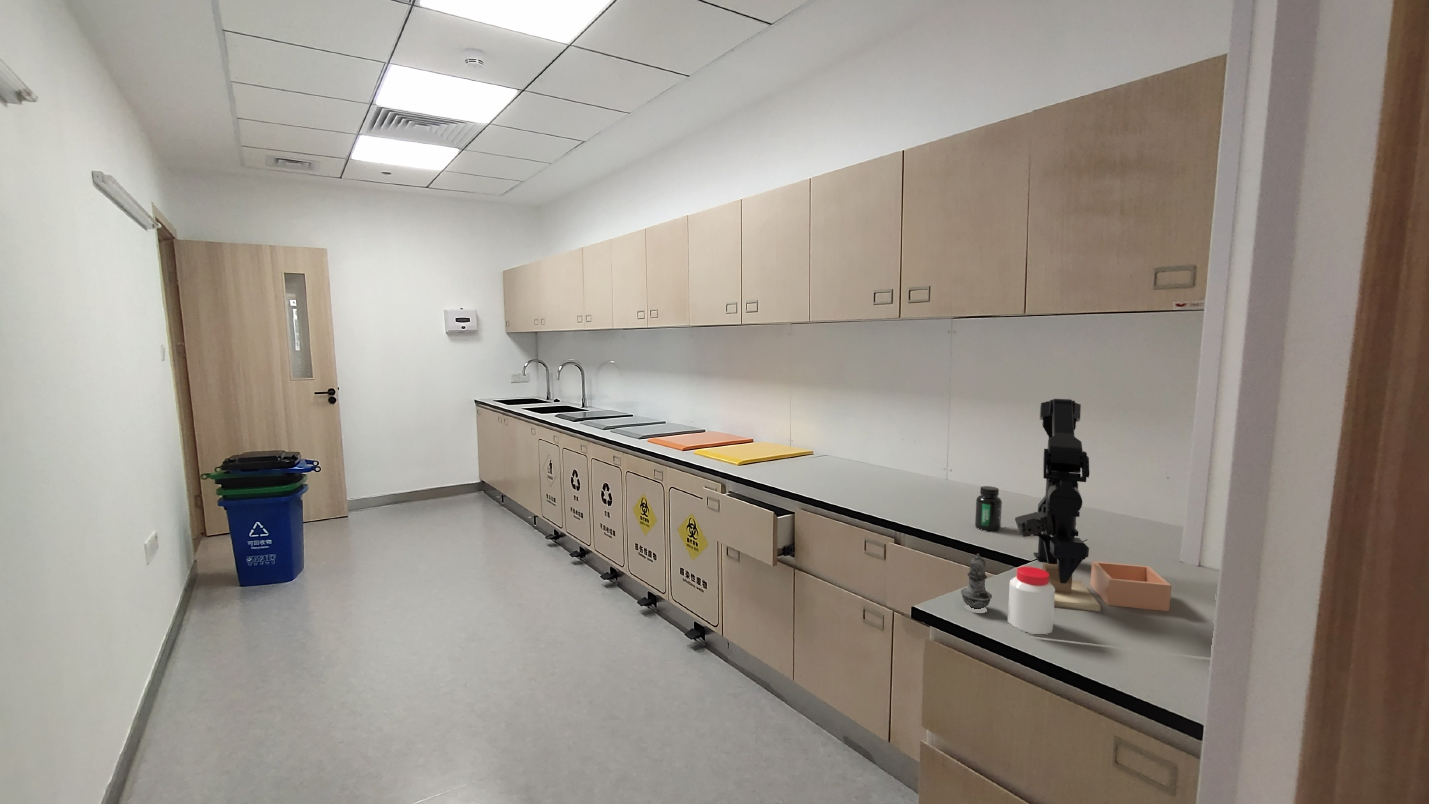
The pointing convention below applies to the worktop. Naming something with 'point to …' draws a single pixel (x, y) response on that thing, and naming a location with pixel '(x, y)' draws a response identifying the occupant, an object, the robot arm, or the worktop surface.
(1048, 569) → the lid
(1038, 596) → the pill bottle
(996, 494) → the supplement bottle
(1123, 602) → the pink open tray
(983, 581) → the grey figurine
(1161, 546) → the worktop surface
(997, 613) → the worktop surface
